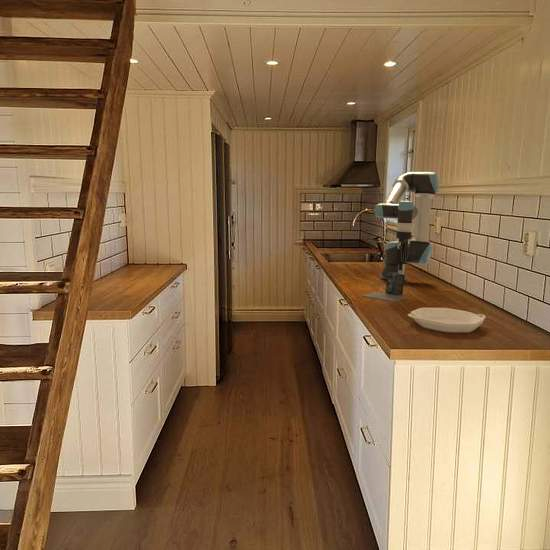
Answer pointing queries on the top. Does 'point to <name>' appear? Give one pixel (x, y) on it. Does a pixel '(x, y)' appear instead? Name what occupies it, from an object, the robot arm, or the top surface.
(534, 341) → the top surface
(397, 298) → the mat
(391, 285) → the box
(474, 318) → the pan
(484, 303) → the top surface
